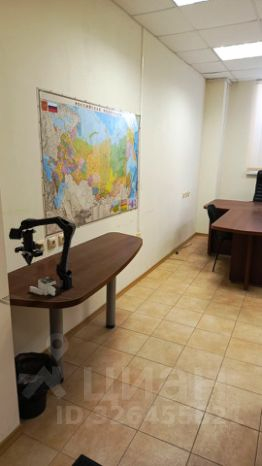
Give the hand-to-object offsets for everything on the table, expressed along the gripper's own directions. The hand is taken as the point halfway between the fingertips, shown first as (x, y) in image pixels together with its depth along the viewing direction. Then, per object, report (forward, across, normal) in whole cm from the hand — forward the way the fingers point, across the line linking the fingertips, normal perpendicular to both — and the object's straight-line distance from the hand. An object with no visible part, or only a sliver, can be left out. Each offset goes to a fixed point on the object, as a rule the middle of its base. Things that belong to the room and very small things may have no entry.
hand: (29, 265), depth 188 cm
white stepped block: (+9, -12, +1) cm, 15 cm away
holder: (+13, -10, 0) cm, 16 cm away
